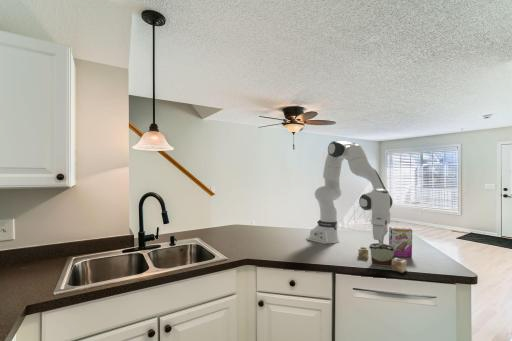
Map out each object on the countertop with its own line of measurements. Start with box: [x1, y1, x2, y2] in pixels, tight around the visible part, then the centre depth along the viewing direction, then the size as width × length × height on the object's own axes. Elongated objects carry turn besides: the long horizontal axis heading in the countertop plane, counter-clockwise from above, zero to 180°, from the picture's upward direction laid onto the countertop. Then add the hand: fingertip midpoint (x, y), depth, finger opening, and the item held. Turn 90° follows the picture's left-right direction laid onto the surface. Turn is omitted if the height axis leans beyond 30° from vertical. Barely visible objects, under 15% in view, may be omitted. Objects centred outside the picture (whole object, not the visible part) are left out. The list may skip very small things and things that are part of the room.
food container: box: [368, 242, 395, 268], centre depth 134 cm, size 12×6×10 cm, turn 71°
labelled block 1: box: [357, 246, 369, 260], centre depth 144 cm, size 5×5×5 cm
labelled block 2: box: [391, 257, 408, 273], centre depth 126 cm, size 5×5×5 cm
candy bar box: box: [388, 226, 413, 259], centre depth 145 cm, size 11×5×16 cm, turn 77°
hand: (381, 244), depth 134 cm, fingers closed, pressing on food container
